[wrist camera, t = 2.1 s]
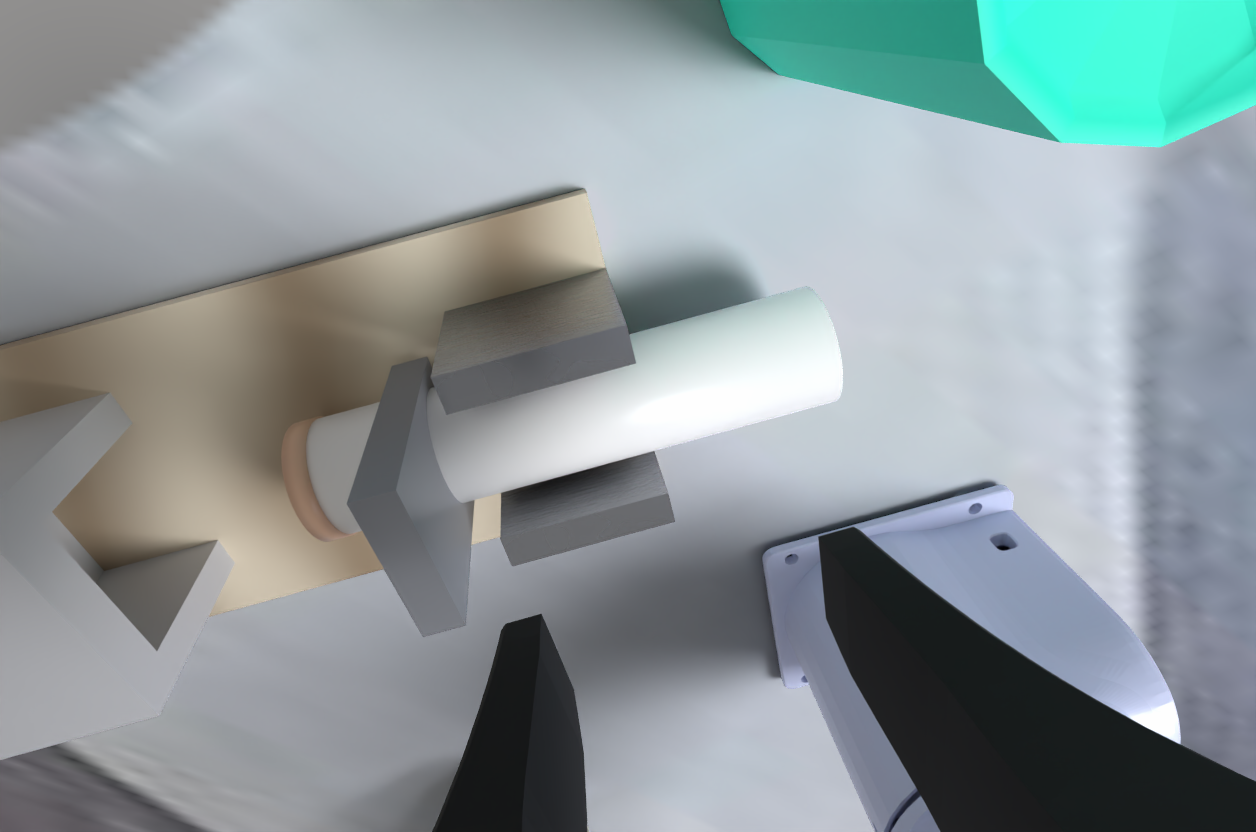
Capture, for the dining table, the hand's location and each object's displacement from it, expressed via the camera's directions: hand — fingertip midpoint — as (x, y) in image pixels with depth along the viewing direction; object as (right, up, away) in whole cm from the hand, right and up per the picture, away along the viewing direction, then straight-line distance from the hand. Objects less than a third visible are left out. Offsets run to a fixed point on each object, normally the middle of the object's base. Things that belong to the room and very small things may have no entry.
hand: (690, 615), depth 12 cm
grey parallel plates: (-3, +5, +9) cm, 11 cm away
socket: (-16, +1, +9) cm, 19 cm away
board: (-10, +3, +9) cm, 13 cm away
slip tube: (-3, +4, +8) cm, 10 cm away
